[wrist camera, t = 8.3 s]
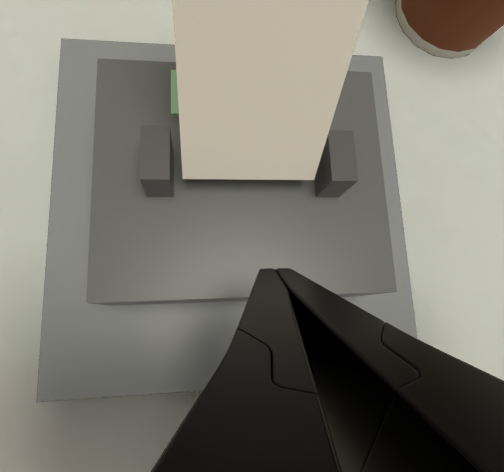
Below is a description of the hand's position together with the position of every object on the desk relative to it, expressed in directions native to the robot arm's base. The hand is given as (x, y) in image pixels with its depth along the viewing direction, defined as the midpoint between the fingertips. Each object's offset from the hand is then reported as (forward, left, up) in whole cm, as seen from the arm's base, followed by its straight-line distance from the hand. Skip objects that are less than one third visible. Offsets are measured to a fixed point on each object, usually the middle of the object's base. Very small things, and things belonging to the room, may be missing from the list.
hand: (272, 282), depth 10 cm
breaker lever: (+3, +3, -4) cm, 6 cm away
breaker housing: (+3, +3, -9) cm, 11 cm away
